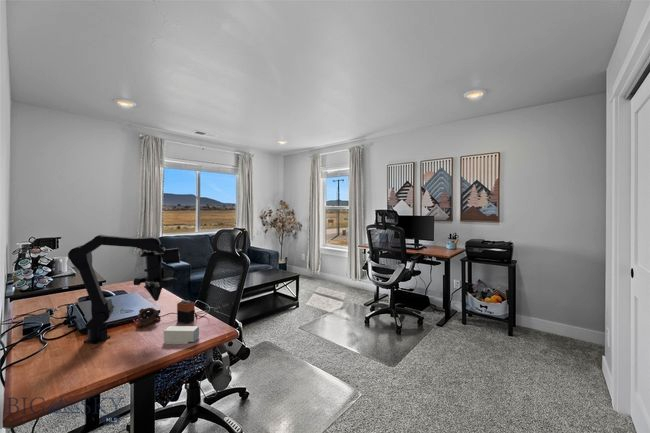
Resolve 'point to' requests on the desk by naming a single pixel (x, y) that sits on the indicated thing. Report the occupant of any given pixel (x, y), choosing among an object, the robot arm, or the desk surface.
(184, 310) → the battery
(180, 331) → the cream block
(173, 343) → the felt mat
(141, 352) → the desk surface
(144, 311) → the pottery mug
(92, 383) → the desk surface
